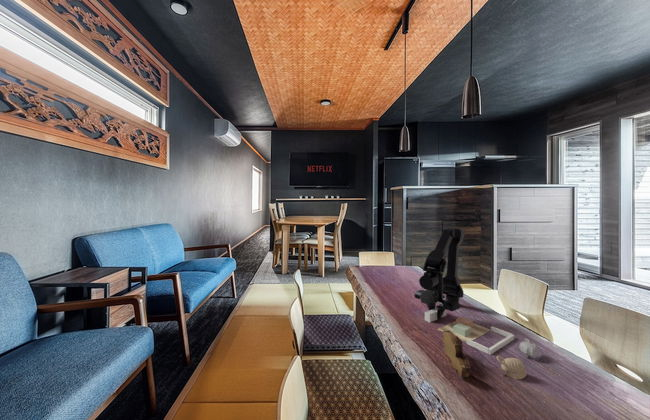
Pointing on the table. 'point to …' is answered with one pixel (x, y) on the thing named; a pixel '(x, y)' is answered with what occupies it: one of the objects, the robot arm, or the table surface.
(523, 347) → the garlic
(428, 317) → the long grey plank
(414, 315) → the table surface
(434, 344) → the table surface
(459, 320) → the tile
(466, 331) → the tile
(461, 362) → the wooden carving
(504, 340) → the tray
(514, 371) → the decorative ornament
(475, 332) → the board
